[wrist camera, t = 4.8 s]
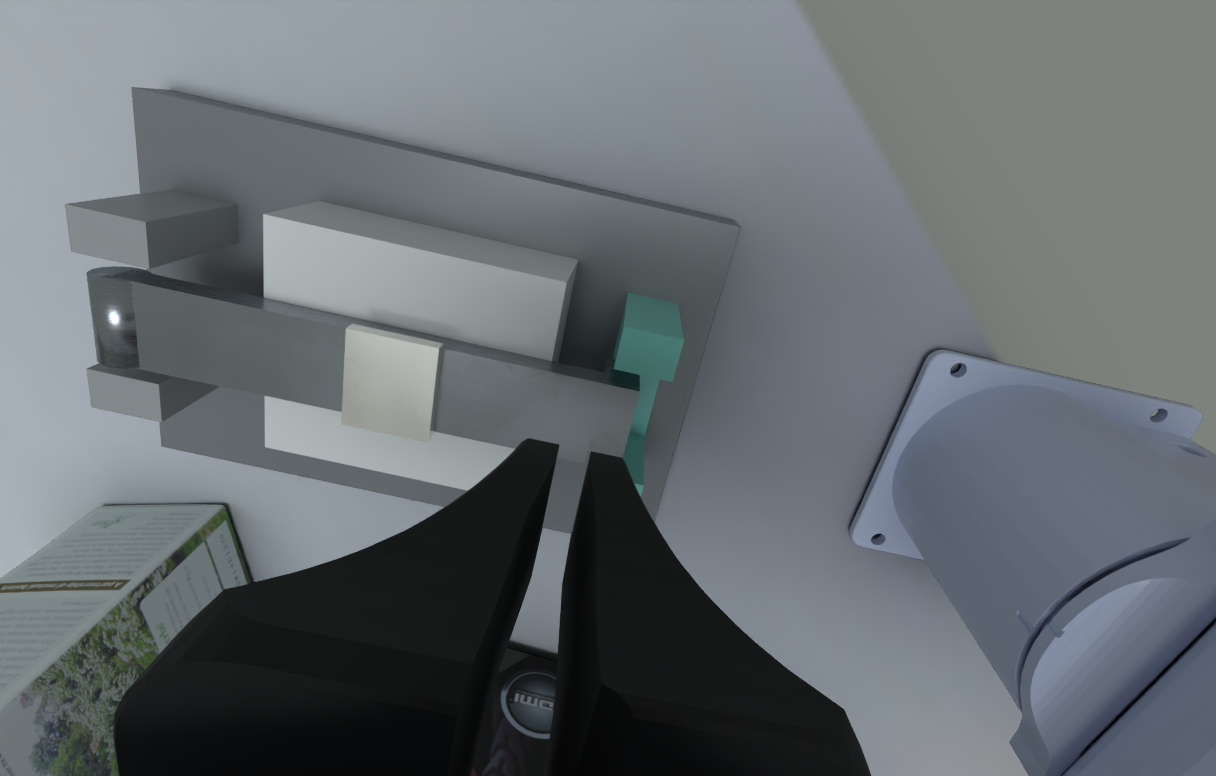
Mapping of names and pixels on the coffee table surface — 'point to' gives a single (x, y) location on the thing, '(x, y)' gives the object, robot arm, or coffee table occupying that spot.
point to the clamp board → (441, 197)
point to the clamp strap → (357, 366)
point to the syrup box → (100, 626)
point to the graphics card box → (518, 718)
